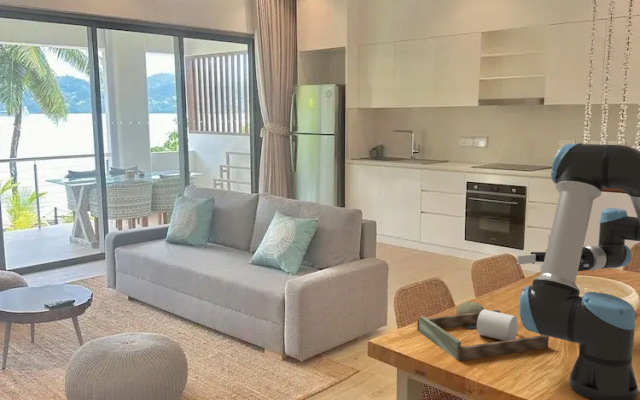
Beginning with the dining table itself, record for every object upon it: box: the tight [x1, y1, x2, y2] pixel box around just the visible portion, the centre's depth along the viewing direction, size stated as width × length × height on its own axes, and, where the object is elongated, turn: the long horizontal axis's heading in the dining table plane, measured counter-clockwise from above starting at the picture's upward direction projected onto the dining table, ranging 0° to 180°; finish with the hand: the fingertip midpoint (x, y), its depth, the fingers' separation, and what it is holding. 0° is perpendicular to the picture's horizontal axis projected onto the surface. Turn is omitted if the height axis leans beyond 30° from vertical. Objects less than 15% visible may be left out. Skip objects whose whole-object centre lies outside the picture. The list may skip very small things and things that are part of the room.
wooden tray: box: [416, 309, 550, 362], centre depth 172 cm, size 30×24×5 cm
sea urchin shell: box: [456, 301, 485, 315], centre depth 191 cm, size 9×8×8 cm
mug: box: [476, 308, 519, 341], centre depth 174 cm, size 12×10×8 cm
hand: (529, 264), depth 174 cm, fingers open, 10 cm apart
